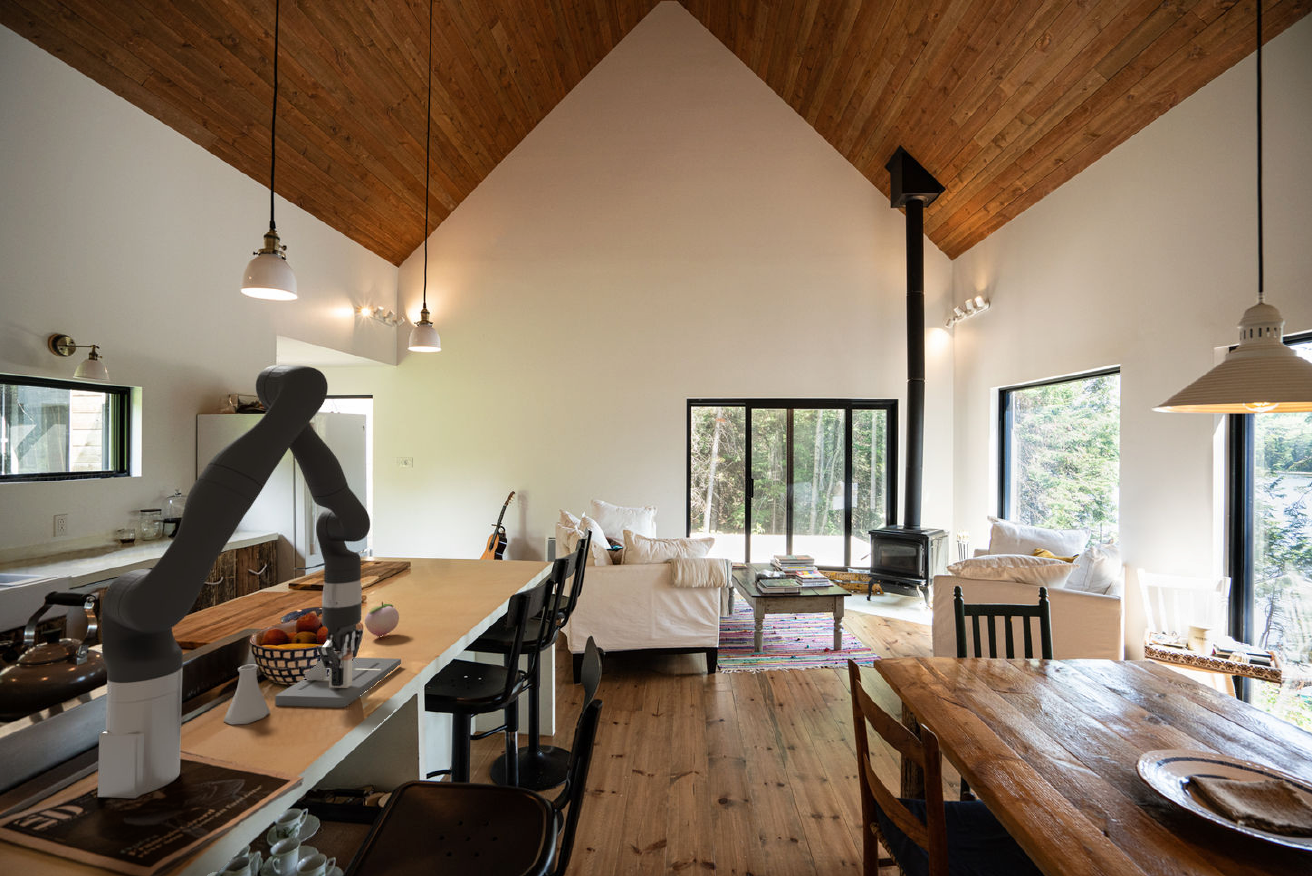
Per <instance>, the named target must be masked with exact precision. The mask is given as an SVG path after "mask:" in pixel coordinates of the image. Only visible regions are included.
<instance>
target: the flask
mask: <svg viewBox="0 0 1312 876" xmlns="http://www.w3.org/2000/svg"><path fill="white" fill-rule="evenodd" d="M258 669H259V665H258V664H255V663H252V664H251V663H250V664H244V665H241V666H240V667H238V668H237V672H239V679H238V683H237V688H236V690H235V694H234V695H233V697H232V701H231V702H230V705H229V707H228V710H227V711H226V714H225V715H224V718H223V722H225V723H227V724H230V725H248V724H250V723H253V722H255V721H259V720H262V719H264V718H265V717H266V716H267V715H269V714H270V713H271V711H270V708H269V706H268V703H267V702H266V700H265V698H264V695H263V693H262V690H261V688H260V686H259V682H258V676H257V670H258Z"/></svg>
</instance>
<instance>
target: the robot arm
mask: <svg viewBox="0 0 1312 876" xmlns="http://www.w3.org/2000/svg"><path fill="white" fill-rule="evenodd" d="M327 380H328V379H327V378H326V376H325V375H324V373H323V372H322V371H320V370H319V369H317V368H315V367H312V366H307V365H295V364H294V365H292V364H291V365H290V364H289V365H288V364H275V365H270V366H267V367H266V368H264V369H263V370H262V371H260V372H259V374H258V376H257V379H256V381H255V392H256V396H257V397H258V400H259V401H260V403H261V405H262V408H264V410H265V414H264V415H263V416H262V417H261V418H260V420H259V421H258V422H257V423H256V424H255V425H253V426H252V427H250V428H249V429H248V430H246V432H244V433H242V434H241V435H240V436H238V437H237V438H236V439H234V440H233V441H231V442H230V443H228V444H227V445H225V447H223V448H222V449H221V450H219V451H218V453H217V454H215V455H214V456H213V458H212V459H211V460H210V461H209V462H208V464H207V465H206V466H205V468H204V469H203V471H202V472H201V474H200V475H199V476H198V478H197V479H196V480H195V482H194V484H193V485H192V487H191V488H190V490H189V492H188V494H187V498H186V501H185V504H184V507H183V511H182V515H181V520H180V522H179V527H178V530H177V533H176V534H175V536H174V537H173V541H172V542H171V543H170V545H169V547H167V549H166V550H165V552H164V553H163V555H162V556H161V557H160V559H158V562H156V563H155V565H154V566H153V567H152V568H151V569H150V568H149V569H148V568H144V569H143V568H142V569H134V570H131V571H127V572H125V573H123V574H121V575H119V576H118V577H117V578H116V579H114V580H113V581H112V583H110V585H108V587H107V589H106V591H105V593H104V596H103V599H102V604H101V617H100V618H101V621H100V622H101V652H102V658H103V661H104V664H105V667H106V673H107V675H106V678H107V679H106V681H107V682H106V706H105V707H106V708H105V711H106V712H105V731H102V732H101V733H99V736H98V739H99V740H98V765H97V766H98V767H97V768H98V769H97V770H98V772H97V775H98V776H97V798H115V799H116V798H117V799H137V798H138V797H140V796H142V795H144V794H148V793H150V792H154V791H157V790H159V789H161V788H163V787H165V786H168V785H170V783H171V784H172V782H174V781H175V780H176V779H177V778H178V777H179V776H180V773H181V748H182V747H181V745H182V744H181V742H182V740H181V739H182V737H181V736H182V735H181V734H182V733H181V732H182V700H183V699H182V695H183V694H182V693H183V661H184V660H183V658H184V655H183V654H184V653H183V649H182V648H181V646H180V645H179V644H178V642H177V640H176V639H175V636H174V633H173V627H175V626H177V625H178V624H179V623H180V622H182V621H183V619H184V618H185V617H186V616H188V614H189V612H190V611H191V609H192V607H193V606H194V605H195V603H196V601H197V599H198V597H199V595H200V592H201V591H202V588H203V587H204V585H205V583H206V581H207V579H208V577H209V575H210V573H211V571H212V569H213V568H214V565H215V563H216V561H217V559H218V558H219V556H220V554H221V553H222V551H223V549H224V548H225V546H226V545H227V544H228V542H229V541H230V539H231V538H232V536H233V535H234V533H235V532H236V530H237V528H238V527H239V525H240V523H241V522H242V520H243V518H244V517H245V516H246V515H247V512H248V511H249V510H250V509H251V507H252V506H253V504H255V501H256V500H257V498H258V497H259V495H260V494H261V492H262V491H263V489H264V487H265V485H266V484H267V482H268V481H269V479H270V477H271V476H272V474H273V472H274V471H275V469H276V468H277V466H278V465H279V463H280V462H281V461H282V459H283V457H284V456H285V455H286V453H287V452H288V451H289V449H290V452H291V453H292V456H293V457H294V459H295V461H296V463H297V465H298V467H299V469H300V471H301V473H302V476H303V478H304V481H305V483H306V485H307V488H308V489H309V493H310V495H311V497H312V499H313V501H314V503H315V504H316V505H317V506H319V507H322V508H326V509H325V510H323V511H322V512H321V513H320V515H319V516H318V519H317V521H316V526H315V532H316V533H315V534H316V537H317V538H316V539H317V543H318V545H319V549H320V552H321V556H322V559H323V562H324V568H323V569H324V570H323V588H322V595H321V596H322V601H321V603H322V605H321V609H322V611H321V624H322V627H324V628H326V629H327V632H326V636H325V639H326V641H325V643H324V644H323V645H322V644H321V645H318V646H319V647H318V652H319V654H320V657H321V659H322V662H323V664H324V667H325V668H331V670H332V678H331V682H332V683H331V684H332V686H341V685H342V684H343V670H344V667H343V666H344V656H346V654H347V653H353V658H357V655H358V652H359V648H360V645H361V644H360V643H361V641H362V637H363V633H364V631H363V629H359V628H357V625H358V624H359V623H361V622H362V597H363V595H362V594H363V592H362V591H363V590H362V582H361V581H362V580H361V577H362V567H361V566H362V560H361V559H362V558H361V555H360V554H359V553H357V552H355V551H352V550H350V549H348V547H347V545H346V542H348V543H350V542H354V543H355V542H359V541H362V540H364V539H365V538H366V537H367V535H369V531H370V528H371V520H370V519H371V518H370V516H369V513H368V510H367V509H366V508H365V506H364V505H363V504H362V502H361V501H360V499H359V498H358V497H357V495H356V494H355V493H354V491H352V489H350V487H349V484H348V481H347V479H346V476H345V473H344V470H343V468H342V465H341V464H340V461H339V459H338V458H337V457H336V454H334V452H333V451H332V450H331V449H330V447H329V446H328V445H327V444H326V443H325V441H324V440H323V439H322V438H321V437H320V436H319V434H318V433H317V431H315V429H314V427H313V426H312V424H311V423H310V421H312V420H313V418H314V417H315V416H316V414H318V412H319V410H320V409H321V408H322V406H323V405H324V402H325V400H326V398H327V395H328V390H329V389H328V387H329V386H328V385H329V384H328V381H327ZM337 657H338V658H339V662H338V660H337Z"/></svg>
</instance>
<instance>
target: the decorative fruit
mask: <svg viewBox="0 0 1312 876" xmlns="http://www.w3.org/2000/svg"><path fill="white" fill-rule="evenodd" d="M399 622H400V613H399V611H398V610H397V609H396V608H395V607H394V605H393V604H392V603H384V602H383V601H381V605H379V606H374V607H372V608H371V609H370V610H369V612H367V614H366V616H365V618H364V626H365V627H366V629H367V631H368V632H370V634H372V635H374V636H375V637H378V636H382V635H384V636H386V635H388V634H389V633H391V632H392V631H394V630H395V629H396V627H397V626H398V623H399ZM387 633H388V634H387Z"/></svg>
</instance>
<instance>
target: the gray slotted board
mask: <svg viewBox="0 0 1312 876" xmlns="http://www.w3.org/2000/svg"><path fill="white" fill-rule="evenodd" d="M353 658H354V659H353V661H352V685H351V686H349V687H348V688H333V687H329V677H327V678H325V679H323V680H302V679H301V680H300V681H298V682H297V683H295V684H293V685H291V686H289V687H288V688H286V689H284V690H283V691H281V692H278V693H277V694H275V695H274V696H275V697H274V706H280V707H281V706H284V707H285V706H286V707H314V708H315V707H316V708H317V707H318V708H343V707H345V708H347V707H348V706H350V705H351V704H352V703H354V702H355V701H356V700H358V699H359V698H360V697H359V696H360V695H362V694H363V693H364V692H365V691H367V690H369V689H370V688H371V687H373V686H374V685H375V684H376V683H377V682H378V681H380V680H382V679H383V678H384V677H385V676H386V675H387V674H388V673H390V672H391V671H393V670H394V669H395V668H396V667H397V666H398V665H400V664H401V665H402V659H401V658H386V657H385V658H381V657H353ZM374 687H375V686H374ZM374 687H373V688H374ZM370 690H371V689H370ZM370 690H369V691H370ZM367 692H368V691H367ZM363 695H364V694H363ZM363 695H362V696H363ZM358 697H359V698H358ZM357 698H358V699H357ZM354 700H355V701H354ZM353 701H354V702H353ZM351 702H352V703H351ZM350 703H351V704H350ZM349 704H350V705H349ZM346 706H347V707H346Z"/></svg>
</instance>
